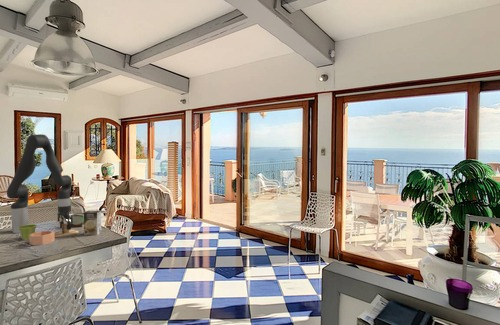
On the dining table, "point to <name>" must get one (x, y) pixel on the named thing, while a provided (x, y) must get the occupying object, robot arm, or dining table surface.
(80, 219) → the food container
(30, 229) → the plant pot
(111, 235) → the dining table surface
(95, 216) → the coffee box
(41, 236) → the terracotta bowl
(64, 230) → the oak lid
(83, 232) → the charcoal mat
